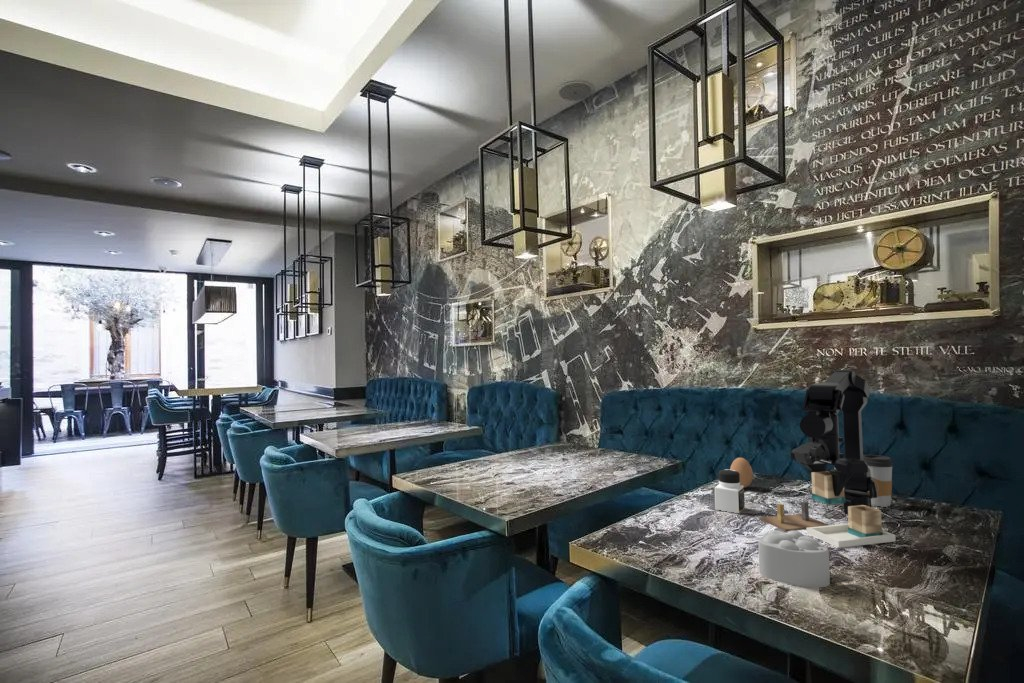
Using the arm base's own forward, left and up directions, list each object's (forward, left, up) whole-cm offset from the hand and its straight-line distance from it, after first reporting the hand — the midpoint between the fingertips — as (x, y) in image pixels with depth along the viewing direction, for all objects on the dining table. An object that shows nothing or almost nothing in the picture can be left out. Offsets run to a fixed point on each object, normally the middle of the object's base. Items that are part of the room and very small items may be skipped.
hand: (828, 493), depth 128 cm
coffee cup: (-39, -21, -12) cm, 46 cm away
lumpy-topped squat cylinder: (+24, +15, -12) cm, 31 cm away
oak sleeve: (0, 0, -2) cm, 2 cm away
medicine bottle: (+8, -29, -12) cm, 32 cm away
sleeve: (-10, +1, -11) cm, 15 cm away
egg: (-11, -49, -12) cm, 52 cm away
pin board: (0, -12, -12) cm, 17 cm away
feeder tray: (-5, +1, -12) cm, 13 cm away
